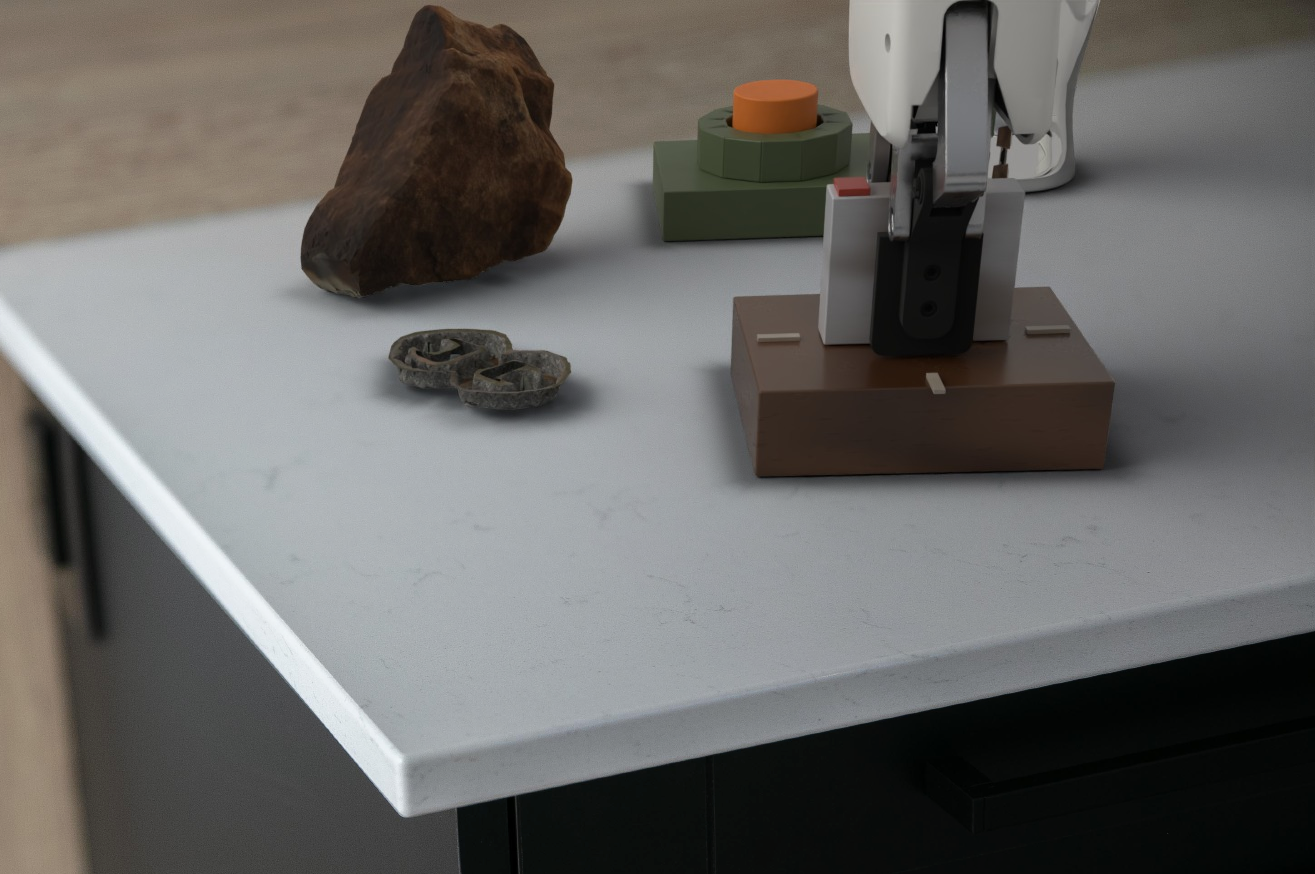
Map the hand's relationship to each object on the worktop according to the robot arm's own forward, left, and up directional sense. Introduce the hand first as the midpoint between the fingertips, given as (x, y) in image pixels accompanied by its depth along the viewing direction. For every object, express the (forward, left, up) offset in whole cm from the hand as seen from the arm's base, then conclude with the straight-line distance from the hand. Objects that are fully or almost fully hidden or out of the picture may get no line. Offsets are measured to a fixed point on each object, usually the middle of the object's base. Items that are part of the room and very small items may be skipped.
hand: (911, 327), depth 66 cm
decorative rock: (+16, -17, -3) cm, 24 cm away
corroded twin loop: (+15, -4, -3) cm, 15 cm away
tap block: (0, 0, -3) cm, 3 cm away
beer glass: (-9, -28, -3) cm, 30 cm away
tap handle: (0, 0, 0) cm, 0 cm away
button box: (+2, -24, -3) cm, 24 cm away
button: (+2, -24, 0) cm, 24 cm away
